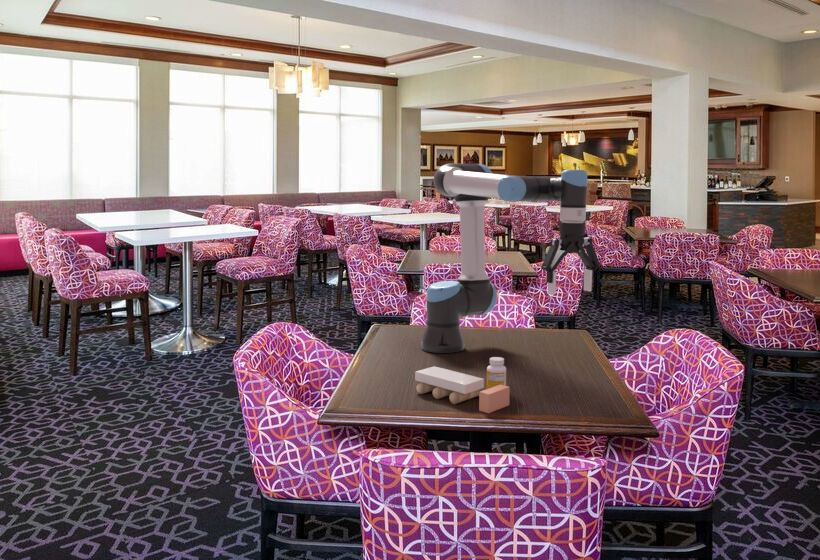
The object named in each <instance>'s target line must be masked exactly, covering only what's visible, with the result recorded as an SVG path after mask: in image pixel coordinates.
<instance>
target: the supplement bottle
mask: <svg viewBox="0 0 820 560" xmlns="http://www.w3.org/2000/svg"><path fill="white" fill-rule="evenodd" d="M489 364H490V365H488V366H487V367H486V385H485V386H486V387H485V388H486V389H489V388H492V387H495V386H497V385H500V384H501V385H504V386H507V367H506V366H505V365H504V364H505V358H504V357H500V356H492V357H490V358H489ZM486 389H485V390H486Z"/></svg>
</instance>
